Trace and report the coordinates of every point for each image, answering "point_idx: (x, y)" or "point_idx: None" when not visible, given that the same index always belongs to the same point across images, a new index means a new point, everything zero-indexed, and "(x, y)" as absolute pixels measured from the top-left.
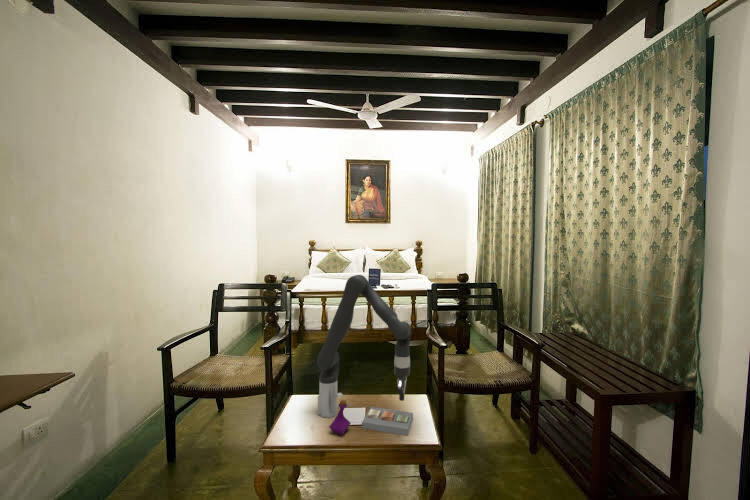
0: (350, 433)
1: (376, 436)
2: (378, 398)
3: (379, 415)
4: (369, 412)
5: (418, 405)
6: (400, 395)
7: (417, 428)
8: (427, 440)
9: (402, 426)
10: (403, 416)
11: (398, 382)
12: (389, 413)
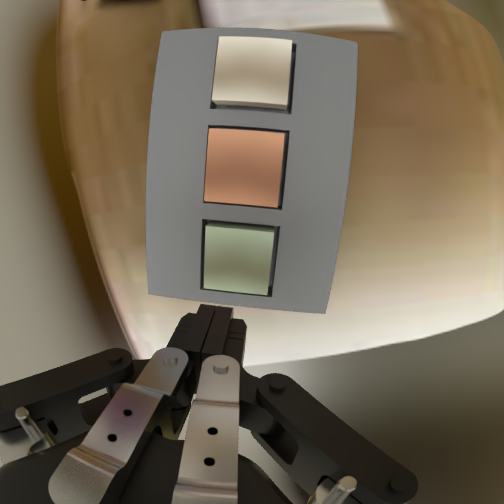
0: (127, 18)
1: (118, 132)
2: (488, 102)
3: (256, 105)
4: (242, 39)
5: (441, 310)
6: (169, 346)
7: None
8: None
9: (163, 266)
10: (261, 267)
11: (22, 459)
12: (256, 175)
